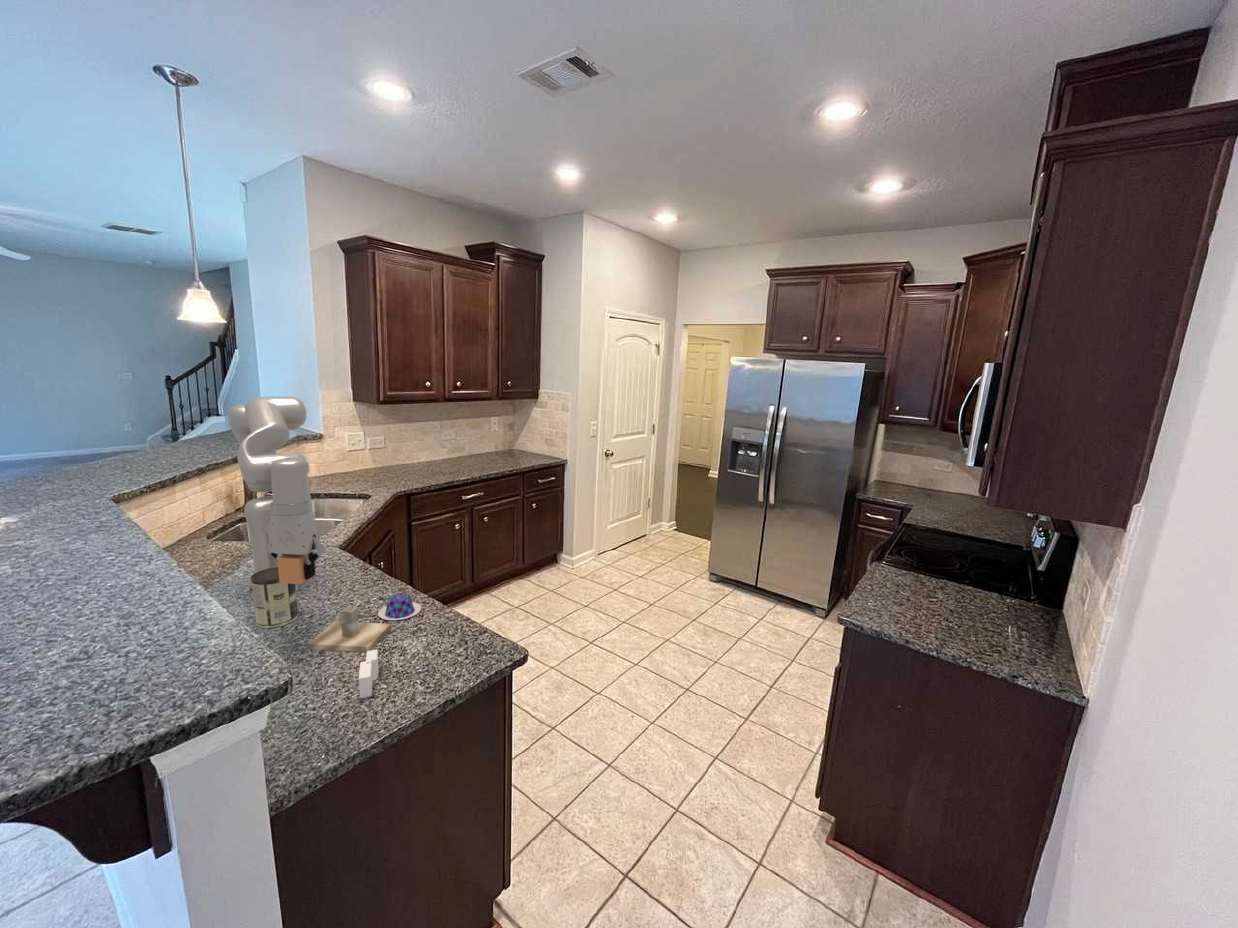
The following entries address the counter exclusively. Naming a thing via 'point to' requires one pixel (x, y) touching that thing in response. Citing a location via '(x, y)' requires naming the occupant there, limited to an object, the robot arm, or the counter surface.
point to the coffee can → (273, 599)
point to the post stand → (350, 634)
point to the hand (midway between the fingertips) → (298, 576)
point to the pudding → (399, 607)
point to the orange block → (291, 569)
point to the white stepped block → (368, 673)
